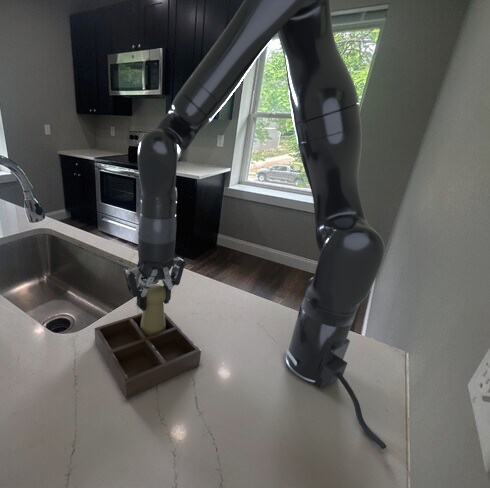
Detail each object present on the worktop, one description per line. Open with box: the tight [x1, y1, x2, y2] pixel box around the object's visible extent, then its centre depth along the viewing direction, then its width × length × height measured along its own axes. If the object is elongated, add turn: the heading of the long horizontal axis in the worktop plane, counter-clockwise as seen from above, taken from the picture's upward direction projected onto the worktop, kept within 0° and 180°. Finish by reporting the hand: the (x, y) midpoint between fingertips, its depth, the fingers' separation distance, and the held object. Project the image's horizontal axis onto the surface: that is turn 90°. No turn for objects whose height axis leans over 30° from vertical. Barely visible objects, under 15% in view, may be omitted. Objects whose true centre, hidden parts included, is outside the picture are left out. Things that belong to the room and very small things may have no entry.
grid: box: [94, 311, 202, 400], centre depth 64 cm, size 17×17×4 cm
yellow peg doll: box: [140, 283, 166, 336], centre depth 67 cm, size 6×6×11 cm
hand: (153, 304), depth 66 cm, fingers closed on yellow peg doll, 5 cm apart
